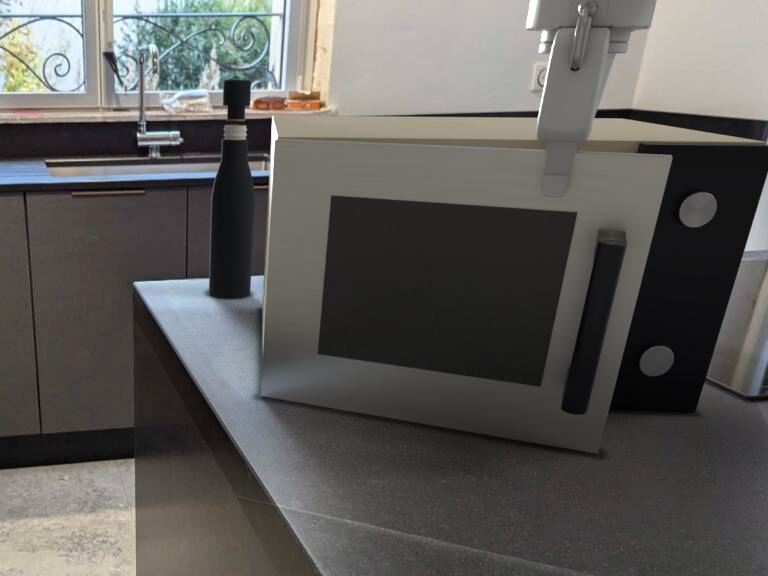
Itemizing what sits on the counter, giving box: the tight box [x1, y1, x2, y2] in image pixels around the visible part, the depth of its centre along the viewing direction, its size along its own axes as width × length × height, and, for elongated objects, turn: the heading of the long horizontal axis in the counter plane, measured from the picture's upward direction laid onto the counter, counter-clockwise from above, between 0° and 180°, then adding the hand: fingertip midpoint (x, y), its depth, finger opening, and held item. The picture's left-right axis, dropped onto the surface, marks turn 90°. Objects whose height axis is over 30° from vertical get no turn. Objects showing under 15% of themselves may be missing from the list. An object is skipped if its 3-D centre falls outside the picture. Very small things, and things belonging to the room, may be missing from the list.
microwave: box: [261, 115, 768, 413], centre depth 96 cm, size 35×44×26 cm
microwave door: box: [260, 139, 673, 455], centre depth 74 cm, size 8×33×26 cm, turn 64°
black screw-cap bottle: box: [208, 79, 256, 299], centre depth 121 cm, size 6×6×30 cm
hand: (554, 192), depth 69 cm, fingers open, 4 cm apart
